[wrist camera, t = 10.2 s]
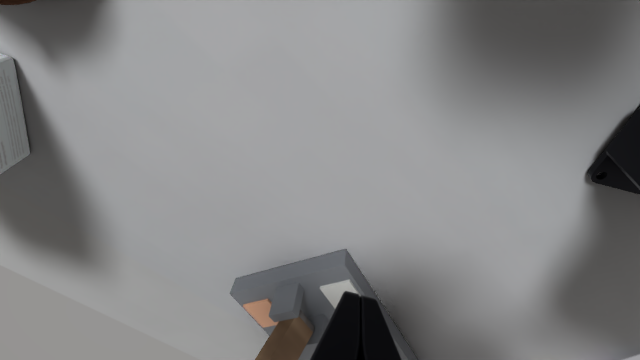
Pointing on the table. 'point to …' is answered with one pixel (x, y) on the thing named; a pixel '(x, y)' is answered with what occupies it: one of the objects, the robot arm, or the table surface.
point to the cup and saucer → (14, 2)
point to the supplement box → (11, 117)
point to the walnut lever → (287, 339)
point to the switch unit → (308, 295)
